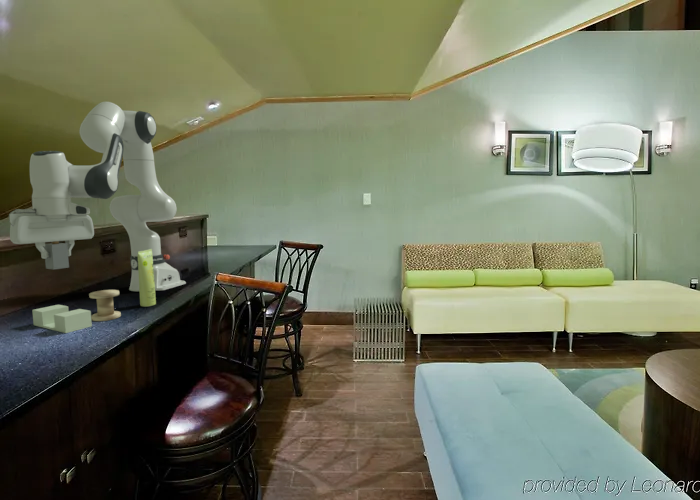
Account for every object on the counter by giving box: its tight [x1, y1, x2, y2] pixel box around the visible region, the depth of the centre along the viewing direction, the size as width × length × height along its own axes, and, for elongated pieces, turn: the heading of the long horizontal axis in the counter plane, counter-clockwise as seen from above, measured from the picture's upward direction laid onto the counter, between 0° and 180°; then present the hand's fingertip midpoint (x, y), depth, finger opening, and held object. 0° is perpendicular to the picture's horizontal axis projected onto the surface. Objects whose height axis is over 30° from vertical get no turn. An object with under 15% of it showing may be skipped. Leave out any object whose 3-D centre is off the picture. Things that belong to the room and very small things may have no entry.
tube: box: [138, 249, 157, 308], centre depth 139 cm, size 6×5×20 cm
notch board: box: [32, 304, 93, 334], centre depth 117 cm, size 7×16×5 cm, turn 63°
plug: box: [43, 241, 70, 270], centre depth 115 cm, size 4×4×8 cm
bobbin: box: [88, 289, 122, 322], centre depth 125 cm, size 8×8×8 cm
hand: (56, 257), depth 115 cm, fingers closed on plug, 4 cm apart
